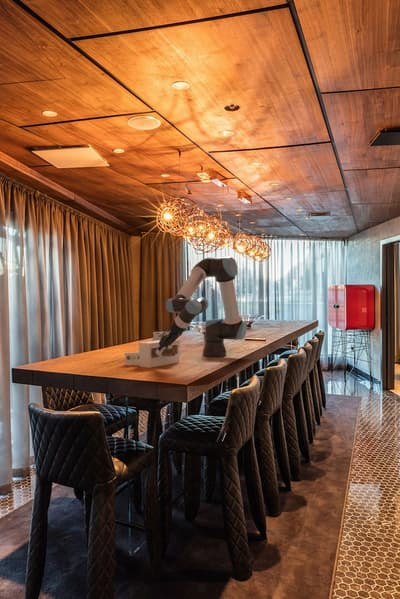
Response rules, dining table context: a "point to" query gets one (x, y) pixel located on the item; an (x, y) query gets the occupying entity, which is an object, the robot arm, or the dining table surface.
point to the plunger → (153, 353)
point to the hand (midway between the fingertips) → (157, 353)
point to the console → (149, 361)
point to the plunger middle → (168, 351)
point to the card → (132, 358)
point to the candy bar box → (157, 335)
